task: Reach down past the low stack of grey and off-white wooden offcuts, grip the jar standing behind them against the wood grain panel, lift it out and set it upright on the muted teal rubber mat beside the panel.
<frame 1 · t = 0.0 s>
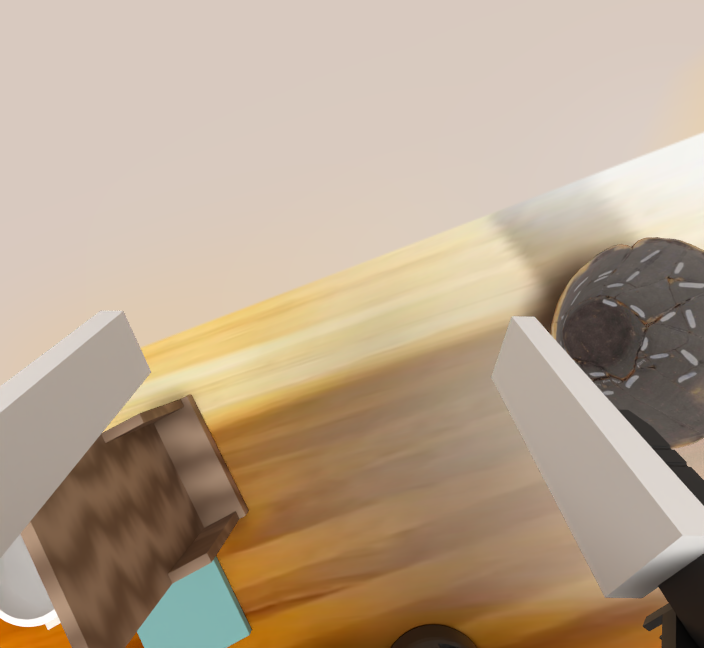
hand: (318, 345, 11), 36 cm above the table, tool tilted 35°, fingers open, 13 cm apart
jar: (134, 496, 46), on the table
mat: (186, 607, 45), on the table
wood grain panel: (130, 499, 46), on the table
bowl: (593, 341, 47), on the table
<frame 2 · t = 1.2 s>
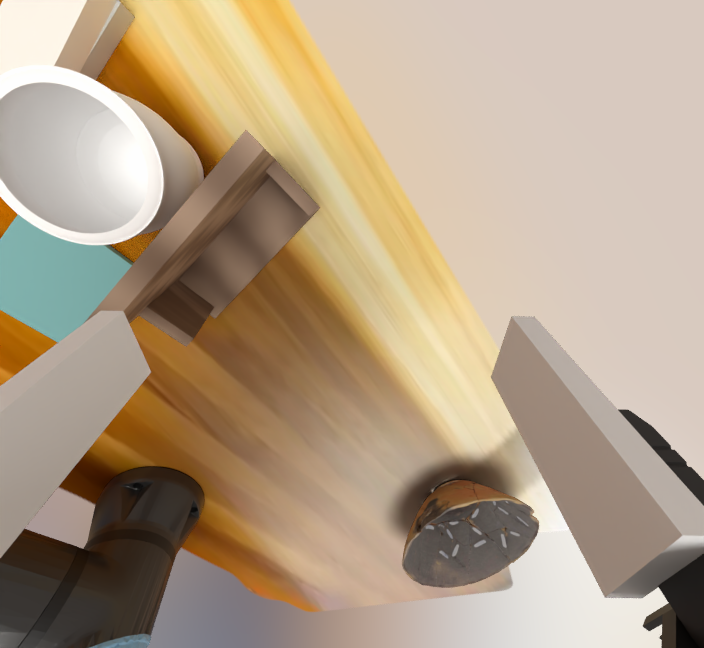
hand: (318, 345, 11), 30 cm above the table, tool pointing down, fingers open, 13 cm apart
jar: (163, 171, 34), on the table
offcut top: (42, 76, 27), point 3 cm above the table, touching offcut low
mat: (70, 285, 37), on the table
wood grain panel: (157, 167, 33), on the table
offcut low: (64, 83, 30), on the table, touching offcut top
bowl: (447, 496, 64), on the table
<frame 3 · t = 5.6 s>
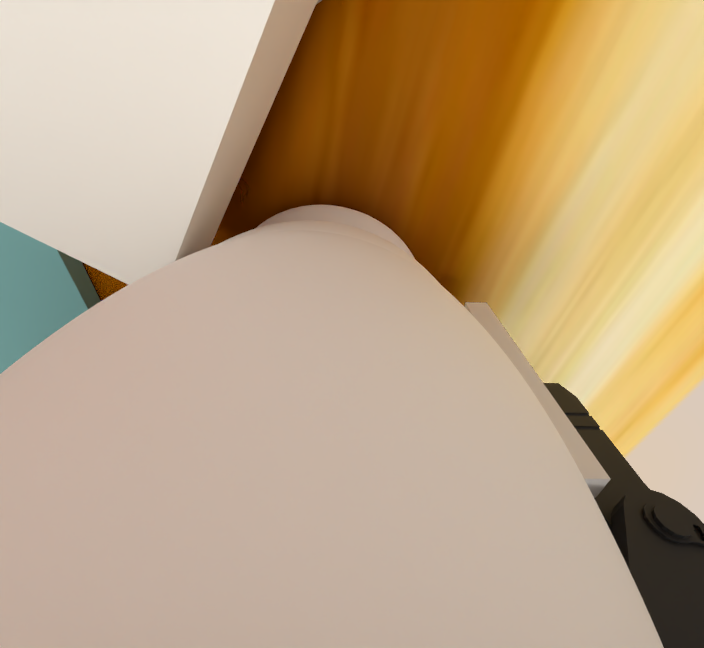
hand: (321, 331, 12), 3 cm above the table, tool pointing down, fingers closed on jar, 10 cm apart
jar: (329, 296, 15), on the table, touching gripper
when the fingers open (5 cm above the table, at t = 14.6 s): jar drops 1 cm, resting on mat.
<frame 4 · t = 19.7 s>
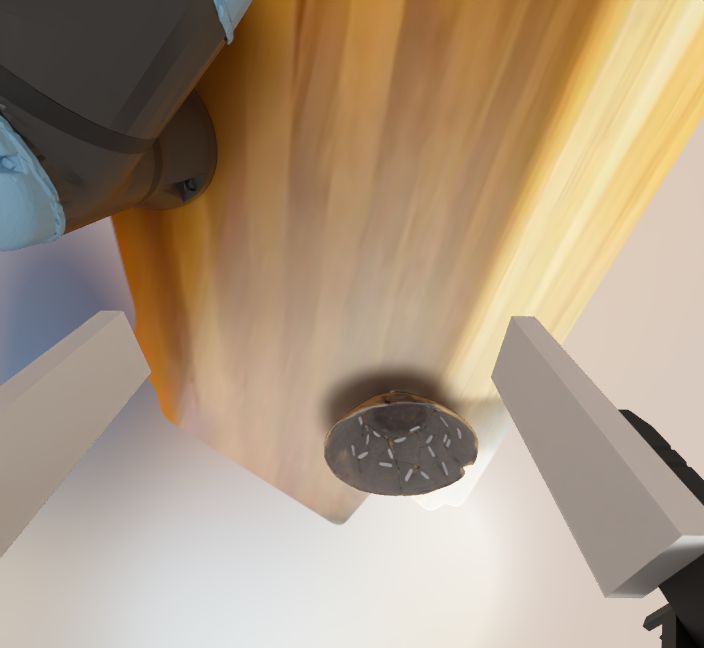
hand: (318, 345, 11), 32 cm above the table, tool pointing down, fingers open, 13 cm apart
bowl: (394, 408, 59), on the table
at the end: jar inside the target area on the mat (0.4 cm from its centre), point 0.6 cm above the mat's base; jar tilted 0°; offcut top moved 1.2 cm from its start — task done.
